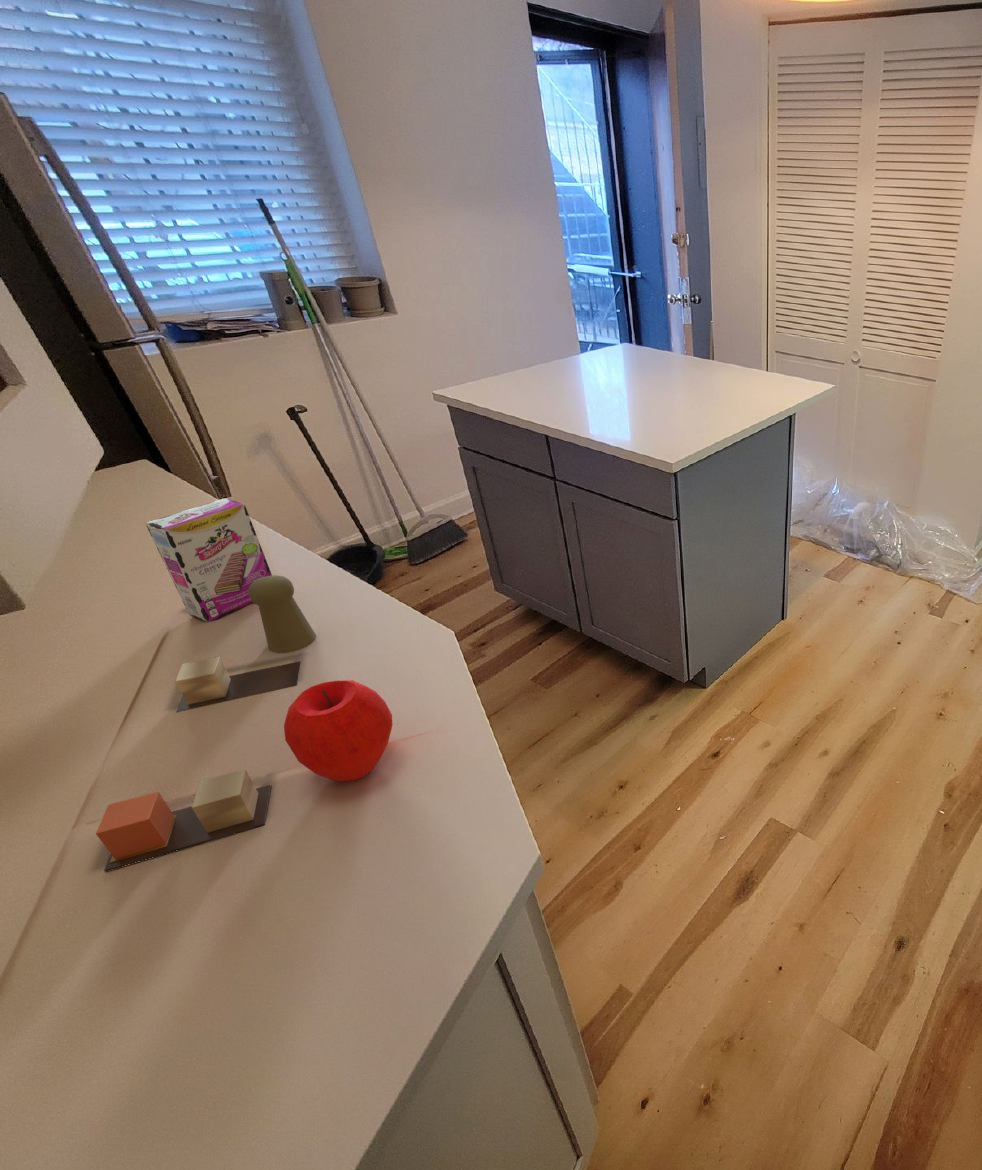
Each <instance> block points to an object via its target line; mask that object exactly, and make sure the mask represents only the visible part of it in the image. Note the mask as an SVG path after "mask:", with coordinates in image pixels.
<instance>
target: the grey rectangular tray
mask: <svg viewBox="0 0 982 1170" xmlns="http://www.w3.org/2000/svg"><path fill="white" fill-rule="evenodd" d="M222 661H223V660H222V659H221V657H220V656H217V657H216V656H215V657H211V658H206V659H200V660H196V661H191V662H186V663H182V664H181V665H180V667H179V671H178V673H177V674H176V675H177V676H176V678H175V681H174V682H175V685H176V686H177V688H178V690H179V691H180V694H181V695H182V697H181V699H180V702H179V704H178V707H177V709H176V713H180V712H185V711H189V710H193V709H199V708H203V707H207V706H212V705H216V704H220V703H224V702H230V701H233V700H238V699H243V698H247V697H253V696H257V695H261V694H265V693H271V692H274V691H279V690H283V689H288V688H293V687H296V686H298V682H299V676H300V671H301V670H300V669H301V663H302V661H301V660H299V661H295V662H289V663H285V664H281V665H275V666H271V667H265V668H260V669H255V670H251V671H247V672H242V673H238V674H237V673H236V674H233V675H229V672H228V671H227V669H226V666H225V665H224V663H223V662H222Z"/></svg>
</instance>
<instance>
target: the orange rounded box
mask: <svg viewBox="0 0 982 1170" xmlns="http://www.w3.org/2000/svg"><path fill="white" fill-rule="evenodd" d="M174 817H175V816H174V815H173V813H172V810H171V809H170V807H169V805H168V803H167V802H166V801H165V800H164V798H163V796H162V794H161V793H160V792H159V791H155V792H151V793H147V794H143V795H140V796H137V797H136V796H135V797H131V798H127V799H124V800H121V801H116V802H113V803H109V804H108V805H107V807H106V809H105V812H104V813H103V817H102V818H101V821H100V823H99V826H98V828H97V830H96V832H95V835H96V837H97V838H98V839H99V841H100V842H101V843H102V844H103V845H104V847H105V848H106V850H108V852H109V853H110V854H111V855H112V856H113V857H114V858H115V859H118V858H122V857H125V856H129V855H132V854H135V853H139V852H142V851H146V850H149V849H153V848H156V847H159V846H163V845H165V844H166V842H167V839H168V836H169V832H170V829H171V826H172V823H173V820H174Z"/></svg>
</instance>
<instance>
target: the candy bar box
mask: <svg viewBox="0 0 982 1170" xmlns="http://www.w3.org/2000/svg"><path fill="white" fill-rule="evenodd" d="M245 504H246V503H243V502H239V501H236V500H232V499H229V498H227V497H225V498H221V499H217V500H214V501H211V502H208V503H205V504H201V505H198V506H195V507H192V508H189V509H186V510H182V511H178V512H176V513H173V514H169V515H167V516H163V517H160V518H157V519H153V520H150V521H147V522H145V523H144V524H145V526H146V528H147V531H148V533H149V534H150V536H151V538H152V540H153V542H154V545H155V546H156V549H157V551H158V553H159V555H160V557H161V559H162V562H163V563H164V565H165V567H166V569H167V572H168V573H169V576H170V578H171V580H172V582H173V585H174V586H175V588H176V590H177V592H178V595H179V597H180V599H181V600H182V603H183V605H184V607H185V609H186V611H187V613H188V615H189V616H190V617H193V618H194V619H195V618H196V619H198V620H200V621H202V622H206V623H211V622H213V621H216V620H217V619H220V618H221V617H224V616H226V615H228V614H231V613H233V612H235V611H238V610H239V609H242V608H244V607H246V606H248V605H250V604H253V602H252V600H251V599H250V597H249V594H248V589H249V586H250V584H252V583H253V582H254V581H256V580H258V579H260V578H263V577H267V576H273V574H272V571H271V569H270V566H269V564H268V561H267V559H266V555H265V552H264V551H263V549H262V546H261V544H260V543H261V542H260V540H259V538H258V535H257V533H256V530H255V527H254V525H253V522H252V520H251V517H250V515H249V512H248V508H247V507H246V505H245Z"/></svg>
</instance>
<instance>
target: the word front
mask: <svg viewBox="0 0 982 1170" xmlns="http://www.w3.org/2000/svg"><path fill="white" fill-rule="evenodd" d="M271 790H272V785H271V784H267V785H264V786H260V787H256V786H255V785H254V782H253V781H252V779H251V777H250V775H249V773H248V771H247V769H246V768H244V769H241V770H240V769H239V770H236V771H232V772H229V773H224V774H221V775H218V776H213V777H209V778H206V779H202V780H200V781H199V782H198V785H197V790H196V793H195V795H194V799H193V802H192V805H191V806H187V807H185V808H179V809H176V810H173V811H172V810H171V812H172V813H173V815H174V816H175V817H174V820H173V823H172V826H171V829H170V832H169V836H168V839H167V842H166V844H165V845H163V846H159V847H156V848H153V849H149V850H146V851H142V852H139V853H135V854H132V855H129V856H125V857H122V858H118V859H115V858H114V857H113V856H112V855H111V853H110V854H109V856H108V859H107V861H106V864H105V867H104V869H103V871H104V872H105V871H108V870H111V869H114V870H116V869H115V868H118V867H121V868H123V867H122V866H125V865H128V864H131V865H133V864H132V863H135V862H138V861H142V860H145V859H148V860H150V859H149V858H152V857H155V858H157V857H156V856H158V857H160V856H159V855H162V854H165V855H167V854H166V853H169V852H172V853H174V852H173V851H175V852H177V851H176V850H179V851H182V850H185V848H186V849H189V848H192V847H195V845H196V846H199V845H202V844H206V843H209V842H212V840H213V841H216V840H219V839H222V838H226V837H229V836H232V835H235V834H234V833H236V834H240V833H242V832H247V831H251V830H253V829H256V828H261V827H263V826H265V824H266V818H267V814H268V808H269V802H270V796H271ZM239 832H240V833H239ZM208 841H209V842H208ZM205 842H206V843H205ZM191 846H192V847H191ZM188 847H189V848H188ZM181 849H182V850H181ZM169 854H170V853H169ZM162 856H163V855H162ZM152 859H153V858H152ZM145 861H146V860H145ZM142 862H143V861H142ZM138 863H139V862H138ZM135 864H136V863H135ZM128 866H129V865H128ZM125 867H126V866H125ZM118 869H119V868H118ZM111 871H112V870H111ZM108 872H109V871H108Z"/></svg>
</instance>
